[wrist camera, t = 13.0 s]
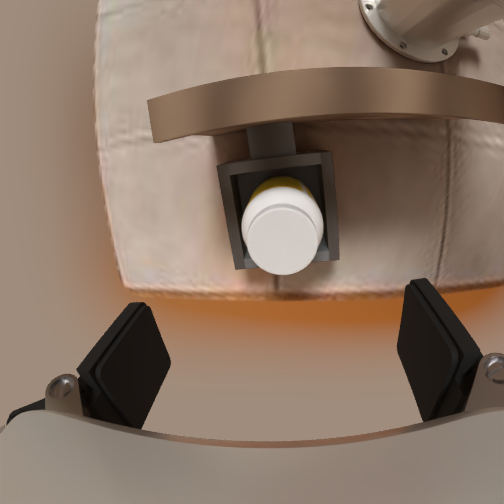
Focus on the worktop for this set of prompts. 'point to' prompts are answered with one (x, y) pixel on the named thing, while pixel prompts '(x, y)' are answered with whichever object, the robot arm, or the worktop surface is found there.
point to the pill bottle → (282, 225)
